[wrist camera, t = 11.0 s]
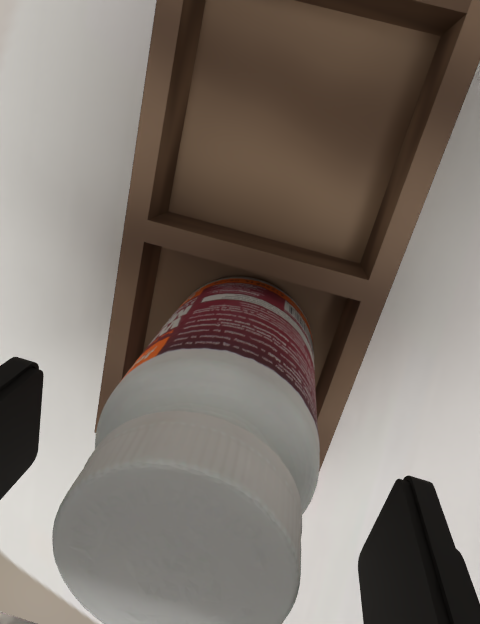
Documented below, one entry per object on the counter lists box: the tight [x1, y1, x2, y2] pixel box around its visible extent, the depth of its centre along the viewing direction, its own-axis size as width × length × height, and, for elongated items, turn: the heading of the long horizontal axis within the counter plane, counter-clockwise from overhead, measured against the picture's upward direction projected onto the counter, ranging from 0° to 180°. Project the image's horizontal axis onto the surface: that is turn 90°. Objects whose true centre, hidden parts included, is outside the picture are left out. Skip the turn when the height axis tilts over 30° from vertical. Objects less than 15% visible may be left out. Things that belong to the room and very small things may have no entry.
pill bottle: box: [53, 277, 320, 624], centre depth 14 cm, size 6×6×11 cm
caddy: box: [95, 0, 480, 471], centre depth 17 cm, size 22×10×4 cm, turn 166°
